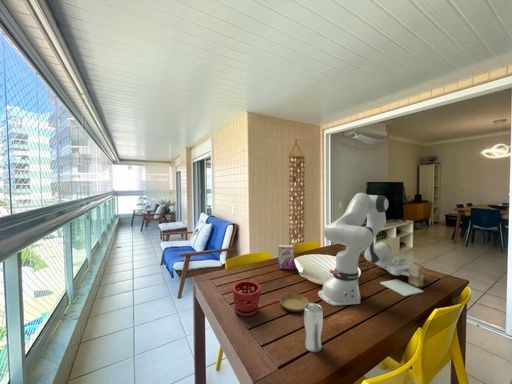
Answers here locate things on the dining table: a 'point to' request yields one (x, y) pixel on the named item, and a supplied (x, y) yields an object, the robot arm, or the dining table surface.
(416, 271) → the maple block
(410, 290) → the sage mat
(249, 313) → the plant pot
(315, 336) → the beer glass
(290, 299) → the plant saucer
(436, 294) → the dining table surface
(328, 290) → the robot arm
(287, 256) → the candy bar box
